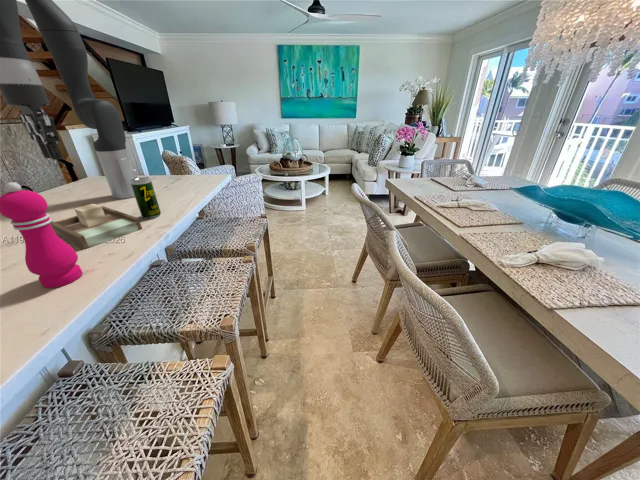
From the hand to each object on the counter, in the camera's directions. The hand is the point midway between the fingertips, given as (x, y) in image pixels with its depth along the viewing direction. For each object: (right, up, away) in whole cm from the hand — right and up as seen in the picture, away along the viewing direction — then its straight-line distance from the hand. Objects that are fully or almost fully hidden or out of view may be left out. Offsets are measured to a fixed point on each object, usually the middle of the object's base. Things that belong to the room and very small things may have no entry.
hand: (53, 158), depth 70 cm
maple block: (+7, -17, +4) cm, 19 cm away
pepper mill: (+18, -30, -15) cm, 38 cm away
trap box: (+7, -19, +5) cm, 21 cm away
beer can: (+17, -14, +15) cm, 26 cm away
